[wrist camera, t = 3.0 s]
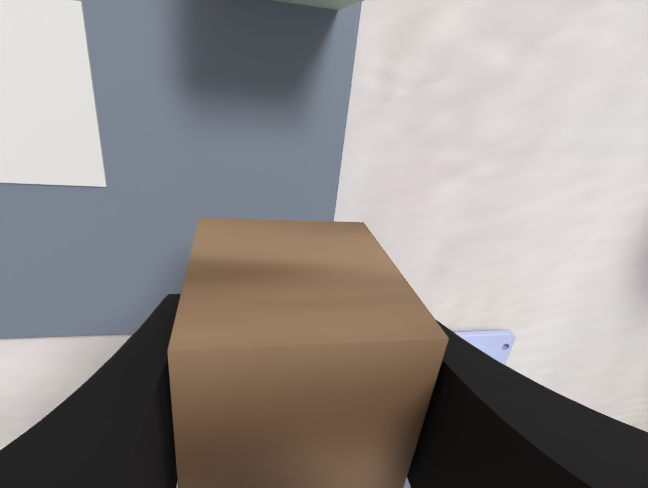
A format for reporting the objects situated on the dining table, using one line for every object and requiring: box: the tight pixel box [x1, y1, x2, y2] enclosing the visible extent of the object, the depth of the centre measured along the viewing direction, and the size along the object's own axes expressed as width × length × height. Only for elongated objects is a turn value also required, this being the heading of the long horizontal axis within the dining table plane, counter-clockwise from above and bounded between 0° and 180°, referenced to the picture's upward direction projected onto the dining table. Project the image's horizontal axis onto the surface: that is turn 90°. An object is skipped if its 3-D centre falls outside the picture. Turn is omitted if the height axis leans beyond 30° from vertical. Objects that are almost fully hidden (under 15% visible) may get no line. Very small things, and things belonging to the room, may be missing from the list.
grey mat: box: [0, 0, 362, 339], centre depth 14 cm, size 20×16×1 cm
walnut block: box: [167, 218, 449, 488], centre depth 9 cm, size 4×4×5 cm
